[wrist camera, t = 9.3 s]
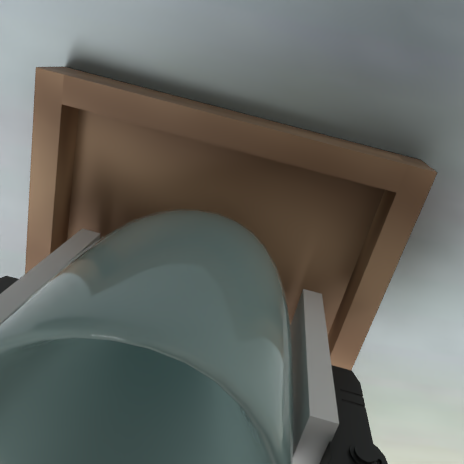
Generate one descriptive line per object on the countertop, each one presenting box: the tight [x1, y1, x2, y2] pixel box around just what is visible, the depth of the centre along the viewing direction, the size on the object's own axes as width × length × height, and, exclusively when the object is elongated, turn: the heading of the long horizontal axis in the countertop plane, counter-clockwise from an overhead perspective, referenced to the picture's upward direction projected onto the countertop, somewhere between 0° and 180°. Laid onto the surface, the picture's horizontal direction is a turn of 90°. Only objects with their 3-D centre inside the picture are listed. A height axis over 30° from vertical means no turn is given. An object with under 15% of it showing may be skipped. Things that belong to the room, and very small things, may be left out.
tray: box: [25, 67, 437, 370], centre depth 18 cm, size 14×14×2 cm
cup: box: [0, 209, 293, 464], centre depth 14 cm, size 8×8×10 cm
